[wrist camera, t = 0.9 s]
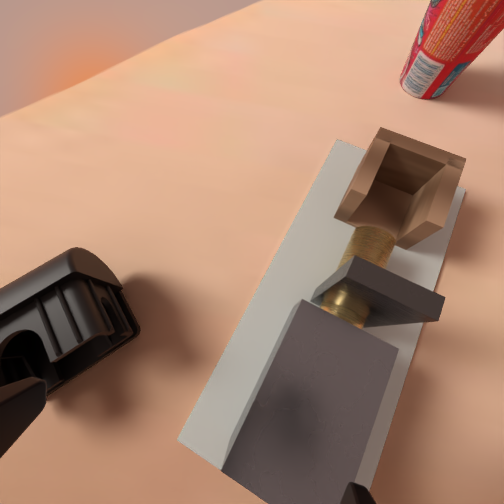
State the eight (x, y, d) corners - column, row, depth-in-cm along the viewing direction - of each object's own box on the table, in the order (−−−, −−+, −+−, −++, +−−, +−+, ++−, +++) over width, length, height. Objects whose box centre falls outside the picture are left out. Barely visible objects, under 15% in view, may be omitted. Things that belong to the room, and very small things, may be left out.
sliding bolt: (306, 469, 17) (353, 601, 9) (249, 432, 18) (240, 520, 9) (388, 257, 22) (473, 205, 13) (340, 234, 22) (390, 172, 14)
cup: (458, 59, 30) (582, -112, 18) (464, 115, 27) (612, -45, 16) (377, 52, 31) (447, -117, 19) (375, 105, 28) (455, -54, 17)
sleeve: (312, 491, 17) (332, 547, 12) (230, 437, 18) (220, 471, 14) (367, 346, 20) (399, 348, 15) (292, 307, 21) (302, 298, 16)
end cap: (113, 262, 23) (57, 233, 17) (148, 329, 21) (100, 326, 15) (5, 326, 21) (-102, 322, 15) (33, 405, 20) (-78, 439, 13)
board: (346, 553, 16) (348, 557, 16) (178, 438, 18) (176, 440, 18) (463, 191, 24) (466, 189, 24) (336, 141, 27) (337, 139, 26)
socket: (405, 250, 22) (443, 227, 18) (333, 217, 23) (351, 188, 19) (427, 192, 24) (466, 158, 19) (358, 165, 25) (380, 127, 21)
